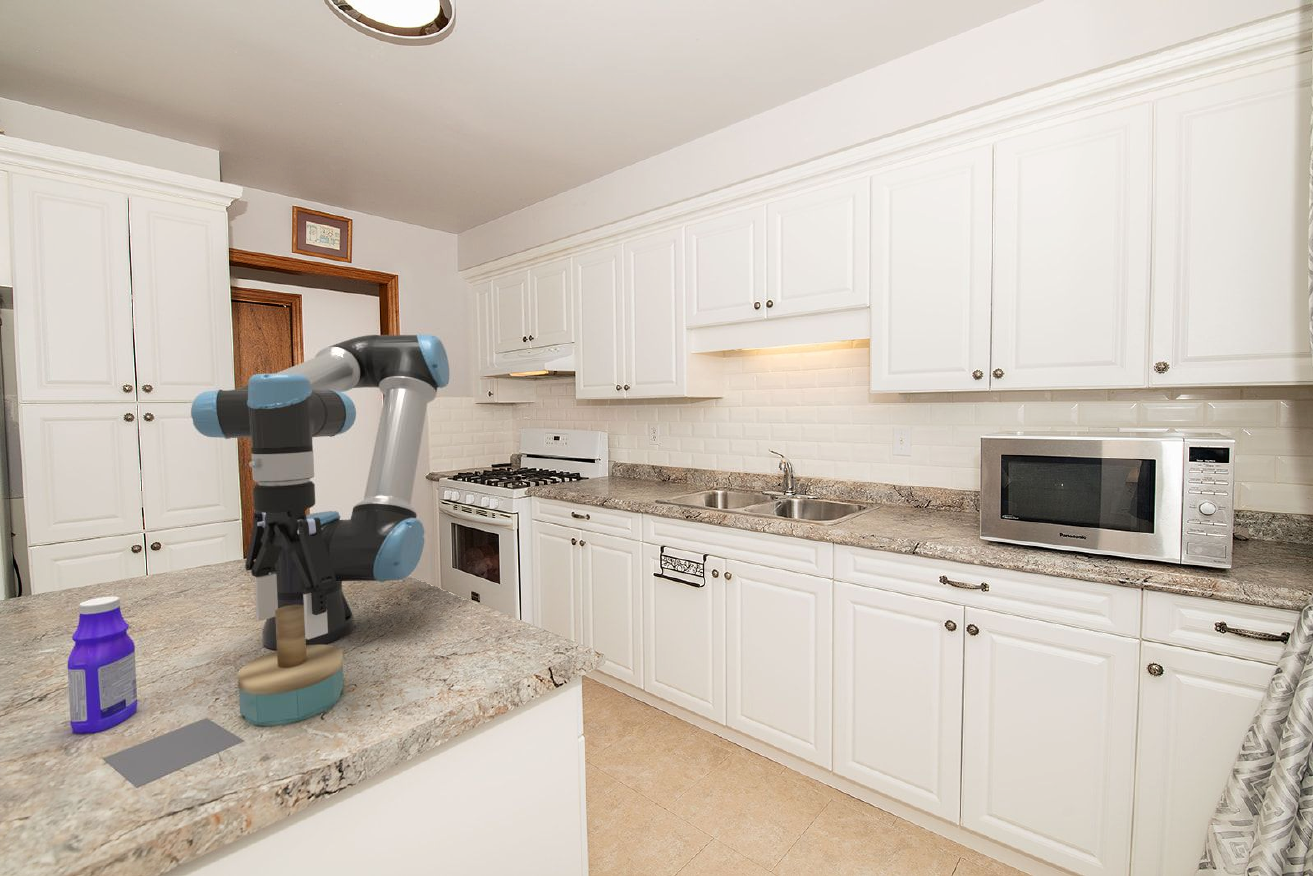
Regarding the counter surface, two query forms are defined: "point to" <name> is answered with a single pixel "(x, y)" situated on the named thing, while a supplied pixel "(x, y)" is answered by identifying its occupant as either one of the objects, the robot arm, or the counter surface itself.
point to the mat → (171, 751)
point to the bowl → (291, 702)
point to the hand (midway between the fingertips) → (291, 626)
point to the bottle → (101, 668)
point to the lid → (290, 659)
